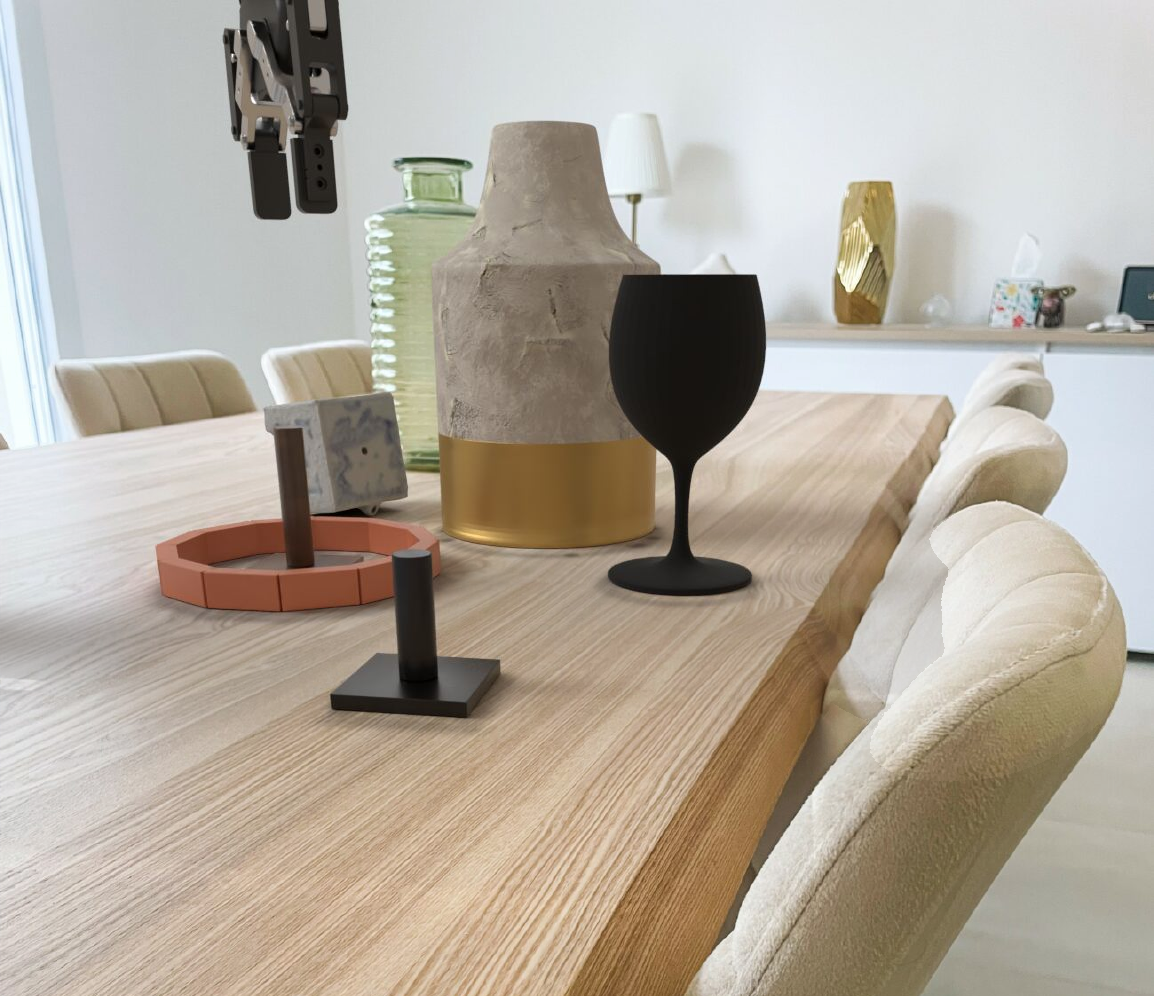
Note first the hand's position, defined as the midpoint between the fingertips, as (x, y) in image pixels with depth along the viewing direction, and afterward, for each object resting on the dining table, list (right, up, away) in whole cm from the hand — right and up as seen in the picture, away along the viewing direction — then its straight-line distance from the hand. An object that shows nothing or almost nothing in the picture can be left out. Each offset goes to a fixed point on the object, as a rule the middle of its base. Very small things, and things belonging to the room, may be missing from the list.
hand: (294, 216), depth 68 cm
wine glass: (+24, -19, +14) cm, 34 cm away
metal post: (+9, -29, -8) cm, 31 cm away
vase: (+14, -12, +32) cm, 37 cm away
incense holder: (-5, -9, +38) cm, 39 cm away
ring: (-3, -19, +15) cm, 24 cm away
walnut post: (-3, -19, +15) cm, 24 cm away
